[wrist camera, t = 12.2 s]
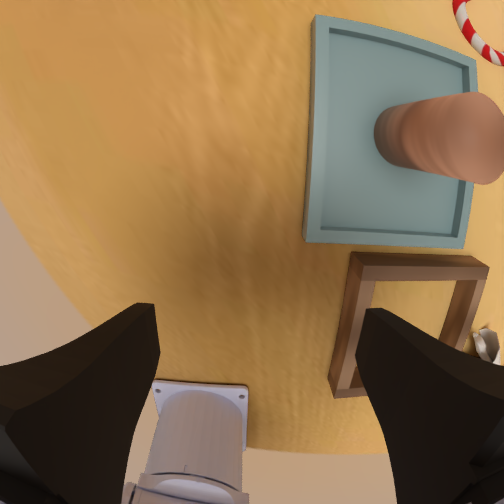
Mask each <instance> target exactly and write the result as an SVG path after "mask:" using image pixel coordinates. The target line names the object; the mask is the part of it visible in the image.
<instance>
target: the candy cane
mask: <svg viewBox="0 0 504 504" xmlns="http://www.w3.org/2000/svg"><path fill="white" fill-rule="evenodd" d="M468 1H470V0H453V11H454V15H455V18H456V21H457V23H458V26H459V28H460V30H461V32H462V33H463V35H464V36H465V38H466V39H467V41H468V42H469V43H470V44H471V45H472V47H473V48H474V49H475V50H476V51H477V52H478V53H479V54H480V55H481V56H483V57H484V58H485V59H487V60H488V61H490V62H492V63H494V64H496V65H500V66H504V52H499V51H496V50H494V49H493V48H491V47H490V46H488V45H487V44H486V43H485V42H484V41H483V40H482V39H481V38H480V37H479V35H478V34H477V33H476V31H475V30H474V29H473V27H472V25H471V23H470V20H469V18H468V15H467V12H466V7H465V5H466V3H467V2H468Z"/></svg>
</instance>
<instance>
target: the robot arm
mask: <svg viewBox="0 0 504 504" xmlns="http://www.w3.org/2000/svg"><path fill="white" fill-rule="evenodd" d="M159 357H160V346H159V339H158V332H157V324H156V316H155V307H154V304H150V303H136V304H133V305H132V306H130V307H128V308H127V309H125V310H123V311H122V312H120V313H119V314H117V315H115V316H114V317H112V318H111V319H109V320H108V321H106V322H104V323H103V324H101V325H100V326H98V327H96V328H95V329H93V330H91V331H89V332H88V333H86V334H84V335H82V336H81V337H79V338H77V339H75V340H73V341H71V342H70V343H67V344H65V345H63V346H61V347H59V348H56V349H54V350H52V351H49V352H47V353H44V354H41V355H39V356H35V357H33V358H29V359H27V360H24V361H21V362H17V363H13V364H9V365H4V366H0V504H249V494H248V493H242V452H243V451H245V450H246V435H247V412H248V388H247V387H246V386H237V385H214V384H198V383H184V382H173V381H163V380H154V378H155V374H156V370H157V366H158V361H159ZM355 359H356V363H357V367H358V371H359V374H360V378H361V380H362V383H363V385H364V388H365V390H366V392H367V395H368V397H369V400H370V402H371V404H372V407H373V409H374V411H375V414H376V416H377V418H378V421H379V423H380V426H381V428H382V431H383V434H384V438H385V441H386V445H387V449H388V453H389V457H390V462H391V467H392V472H393V477H394V484H395V491H396V498H397V504H504V366H501V365H497V364H494V363H491V362H488V361H485V360H482V359H479V358H476V357H474V356H471V355H469V354H466V353H464V352H462V351H459V350H457V349H455V348H453V347H451V346H449V345H447V344H445V343H443V342H441V341H439V340H437V339H436V338H434V337H432V336H430V335H429V334H427V333H425V332H423V331H422V330H420V329H418V328H417V327H415V326H413V325H412V324H410V323H408V322H407V321H405V320H403V319H402V318H400V317H398V316H397V315H395V314H393V313H391V312H389V311H387V310H385V309H383V308H366V310H365V315H364V319H363V324H362V328H361V332H360V337H359V341H358V345H357V349H356V353H355ZM153 380H154V381H153ZM151 386H152V389H153V394H154V398H155V403H156V407H157V411H158V415H159V420H158V423H157V427H156V430H155V434H154V438H153V442H152V445H151V449H150V453H149V457H148V461H147V464H146V468H145V472H144V473H141V474H140V477H139V481H138V485H136V484H134V483H132V482H127V483H126V484H125V485H124V479H125V473H126V467H127V462H128V456H129V452H130V447H131V443H132V439H133V435H134V431H135V428H136V425H137V422H138V419H139V417H140V414H141V412H142V409H143V406H144V404H145V401H146V399H147V396H148V393H149V391H150V388H151ZM158 389H160V390H158ZM240 395H244V396H240Z"/></svg>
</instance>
